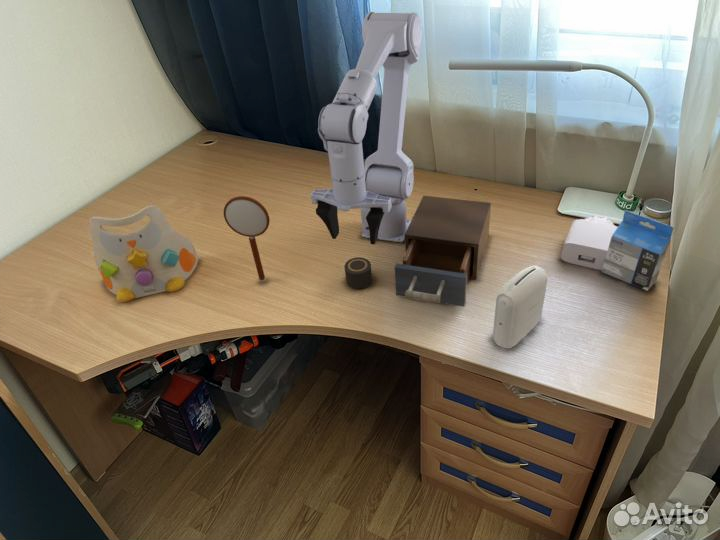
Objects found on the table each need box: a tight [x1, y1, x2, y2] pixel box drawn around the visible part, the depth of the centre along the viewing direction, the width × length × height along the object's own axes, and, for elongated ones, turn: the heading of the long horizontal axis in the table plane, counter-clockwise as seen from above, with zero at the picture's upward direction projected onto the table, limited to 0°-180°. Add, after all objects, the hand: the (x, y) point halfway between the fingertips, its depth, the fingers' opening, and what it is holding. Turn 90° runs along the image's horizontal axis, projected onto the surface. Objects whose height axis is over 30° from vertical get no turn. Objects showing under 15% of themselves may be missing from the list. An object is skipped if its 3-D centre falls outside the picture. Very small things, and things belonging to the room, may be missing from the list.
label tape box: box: [601, 210, 674, 292], centre depth 97 cm, size 9×4×12 cm, turn 44°
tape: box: [343, 256, 373, 291], centre depth 105 cm, size 5×5×4 cm
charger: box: [560, 214, 618, 271], centre depth 108 cm, size 5×9×15 cm
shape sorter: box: [88, 204, 199, 303], centre depth 106 cm, size 20×10×18 cm, turn 105°
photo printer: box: [492, 264, 549, 349], centre depth 89 cm, size 10×4×12 cm, turn 133°
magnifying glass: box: [223, 195, 270, 283], centre depth 103 cm, size 9×2×20 cm, turn 80°
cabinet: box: [404, 195, 492, 281], centre depth 109 cm, size 15×14×9 cm
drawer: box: [394, 239, 474, 308], centre depth 100 cm, size 19×13×7 cm
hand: (354, 238), depth 100 cm, fingers open, 7 cm apart
